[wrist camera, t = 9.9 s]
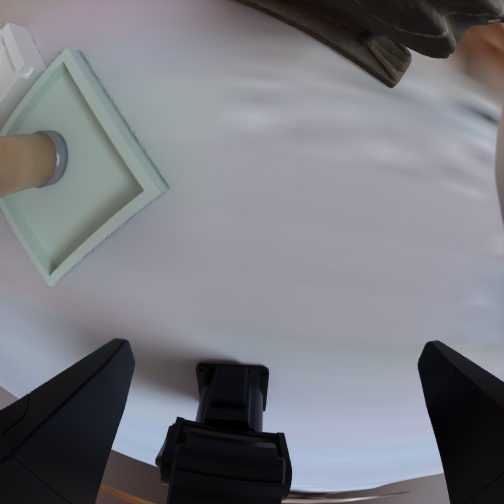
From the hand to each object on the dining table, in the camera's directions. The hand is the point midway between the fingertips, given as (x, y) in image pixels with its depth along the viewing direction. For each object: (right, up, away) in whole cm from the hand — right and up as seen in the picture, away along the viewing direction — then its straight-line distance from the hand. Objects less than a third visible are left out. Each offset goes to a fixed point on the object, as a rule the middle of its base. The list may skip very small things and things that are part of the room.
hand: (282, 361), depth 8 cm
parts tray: (-16, +9, +11) cm, 21 cm away
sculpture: (+4, +19, +6) cm, 21 cm away
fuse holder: (-22, +19, +7) cm, 30 cm away
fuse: (-17, +10, +10) cm, 22 cm away
